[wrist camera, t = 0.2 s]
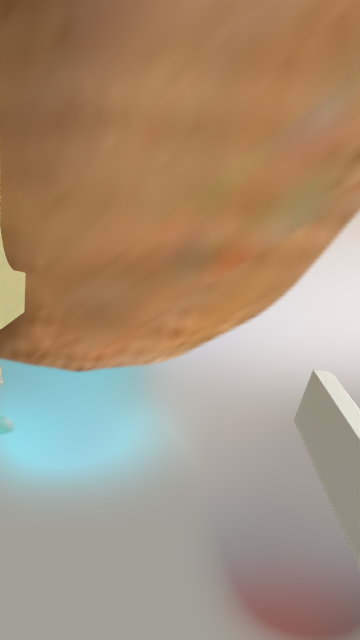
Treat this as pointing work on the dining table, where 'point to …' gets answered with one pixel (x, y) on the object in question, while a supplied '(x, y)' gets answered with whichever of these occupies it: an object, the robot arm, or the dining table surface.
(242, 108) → the dining table surface
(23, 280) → the slatted curved stool
